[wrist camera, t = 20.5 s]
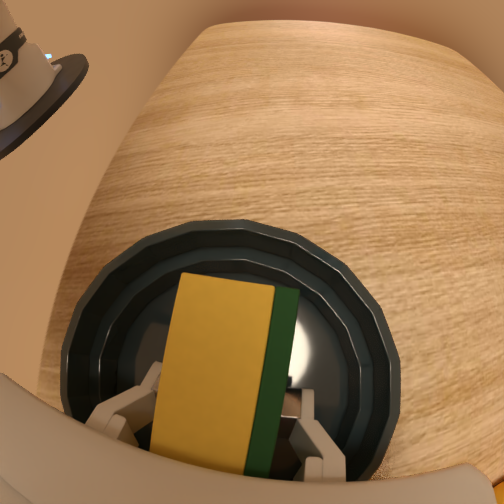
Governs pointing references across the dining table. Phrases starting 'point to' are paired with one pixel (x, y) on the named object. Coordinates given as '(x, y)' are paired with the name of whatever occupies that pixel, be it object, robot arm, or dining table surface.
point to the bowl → (254, 271)
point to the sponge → (225, 374)
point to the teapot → (499, 493)
